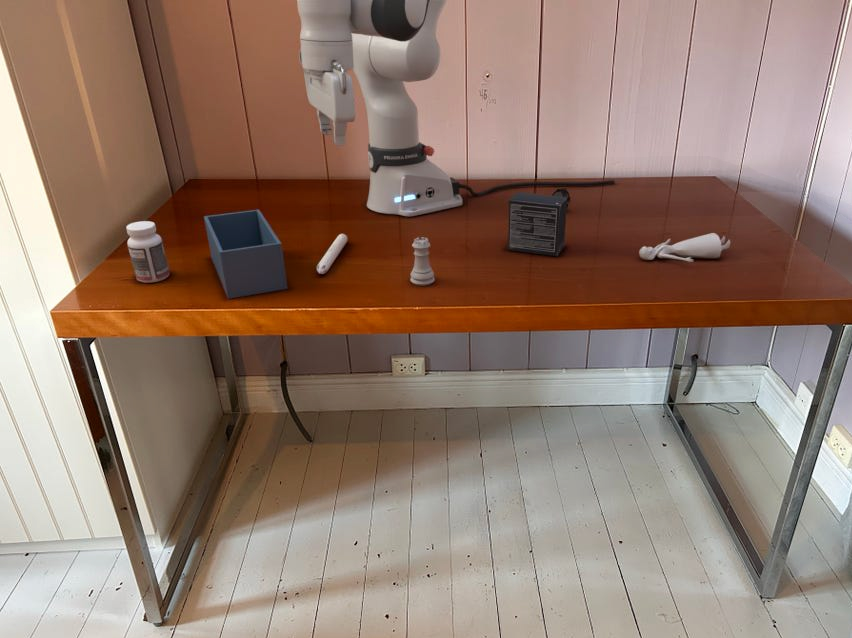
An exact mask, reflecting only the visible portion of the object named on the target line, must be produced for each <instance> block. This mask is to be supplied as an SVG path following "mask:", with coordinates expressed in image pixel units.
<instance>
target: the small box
mask: <svg viewBox="0 0 852 638" xmlns="http://www.w3.org/2000/svg"><path fill="white" fill-rule="evenodd" d="M567 197H568V196H567ZM567 197H560V196H552V195H551V194H549V195H548V194H541V193H531V192H530V193H529V192H519V191H517V192H516V193H515V194H514V195H512V196H511V198H508V225H507V226H508V227H507V229H508V232H507V249H506V250H507V251H511V252H519V253H528V254H534V255H543V256H549V257H550V256H551V257H558V256H559V255H560V253H561V251H563V249H564V247H565V239H566V238H565V237H566V236H565V235H566V223H567V209H568V207H567Z"/></svg>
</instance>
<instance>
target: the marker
mask: <svg viewBox="0 0 852 638" xmlns="http://www.w3.org/2000/svg"><path fill="white" fill-rule="evenodd" d="M347 242H348V236H347V235H346V234H345V233H340V234H338V235H337V236H336V237H335V239H334V241H333V242H332V243H331V245H330V246H329V248H328V249H327V251H325V253H324V255H323V257H322V258H321V260H320V261H319V262H318V264H317V265H316V271H317V273H318V274H319V275H324V274H326V273H327V272H328V271H329V270H330V268H331V266H332V265H333V263H334V262H335V260H336V259H337V257H338V256H339V254H340V253H341V252H342V250H343V249H344V247H345V246H346V244H347Z"/></svg>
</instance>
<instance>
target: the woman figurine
mask: <svg viewBox="0 0 852 638" xmlns="http://www.w3.org/2000/svg"><path fill="white" fill-rule="evenodd" d="M671 240H672V238H668V239H667V240H666V241H665V242H662V243H659V244H657V245H656V246H655V247H652V246H645V245H644V246H642V247H641V248H640V249H639V251H638V254H639V255H638V256H639V257H640V258H641V259H642V260H644V261H651V260H654V259H655V258H656V257H657V258H660V259H672V260H678V261H684V262H687V263H694V259H715V260H717V259H719V258H720V257H721V254H722V251H724V250H727V249H730V248H731V246H730V245H731V240H730V239H727V242H726V243H725V241H726V236H725V235H723V237H722V238H721V239H720V236H719V235H718V234H717V233H715V232H711V233H707V234H703V235H699V236H696V237H692V238H687V239H684V240H681V241H679V242H676V243H674V244H672V245H669V243H670V242H671ZM692 258H693V259H692Z"/></svg>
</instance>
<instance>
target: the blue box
mask: <svg viewBox="0 0 852 638" xmlns="http://www.w3.org/2000/svg"><path fill="white" fill-rule="evenodd" d="M203 219H204V224H205V230H206V235H207V241H208V245H209V252H210V257H211V260H212V263H213V265H214V267H215V270H216V272H217V276H218V278H219V280H220V282H221V285H222V288H223V290H224V292H225V295H226V297H227V299H234V298H241V297H246V296H253V295H258V294H259V295H260V294H266V293H270V292H277V291H282V290H288V281H287V274H286V267H285V260H284V252H283V246H282V242H281V241H280V240H279V237H278V236H277V235H276V233H275V232H274V230H273V228H272V227H271V226H270V224H269V222H268V221H267V220H266V218H265V217H264V215H263V213H262V211H261V210H260V209H253V210H245V211H236V212H235V211H234V212H229V213H220V214H219V213H218V214H213V215H205V216H203Z"/></svg>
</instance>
